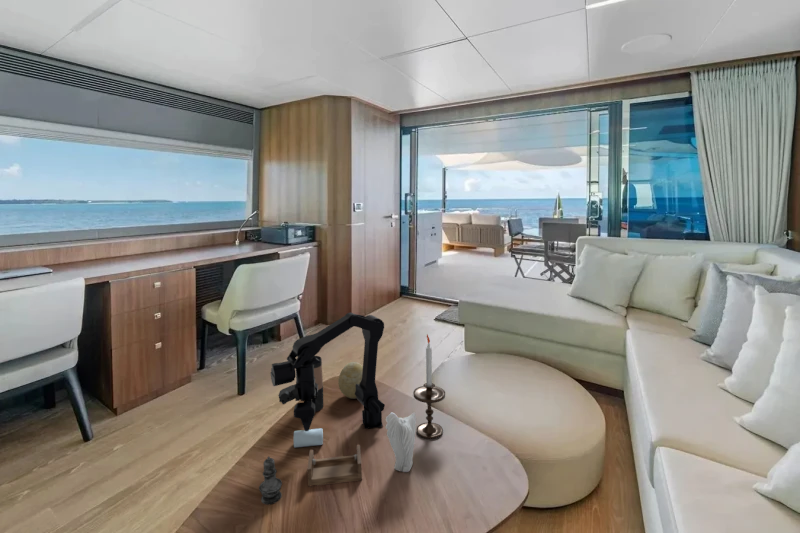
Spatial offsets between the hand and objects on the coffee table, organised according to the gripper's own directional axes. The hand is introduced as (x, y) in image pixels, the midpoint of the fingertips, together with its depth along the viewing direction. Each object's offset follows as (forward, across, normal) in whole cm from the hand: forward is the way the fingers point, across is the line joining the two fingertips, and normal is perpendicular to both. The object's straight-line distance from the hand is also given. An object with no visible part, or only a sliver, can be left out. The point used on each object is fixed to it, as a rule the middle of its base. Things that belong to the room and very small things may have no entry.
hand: (308, 423), depth 127 cm
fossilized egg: (+8, -31, +16) cm, 36 cm away
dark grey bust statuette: (+8, +23, -8) cm, 26 cm away
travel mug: (+8, -25, 0) cm, 26 cm away
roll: (+8, 0, 0) cm, 8 cm away
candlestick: (+8, 0, +41) cm, 42 cm away
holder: (+8, +16, +9) cm, 20 cm away
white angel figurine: (+8, +17, +29) cm, 34 cm away
